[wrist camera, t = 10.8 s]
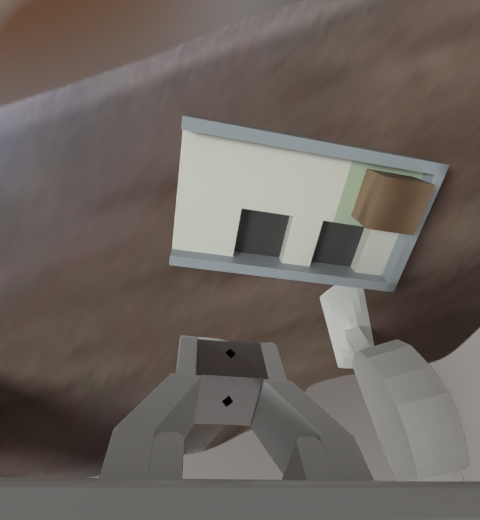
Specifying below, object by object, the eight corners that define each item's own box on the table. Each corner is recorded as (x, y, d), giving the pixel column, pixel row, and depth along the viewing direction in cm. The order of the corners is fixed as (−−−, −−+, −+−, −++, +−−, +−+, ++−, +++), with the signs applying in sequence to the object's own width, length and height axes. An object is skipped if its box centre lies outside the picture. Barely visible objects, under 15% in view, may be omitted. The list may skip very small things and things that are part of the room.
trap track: (429, 159, 30) (449, 165, 28) (380, 278, 36) (393, 292, 33) (185, 114, 27) (182, 115, 25) (172, 251, 33) (169, 264, 30)
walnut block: (412, 176, 30) (435, 185, 26) (394, 222, 31) (413, 235, 28) (366, 168, 29) (385, 176, 26) (351, 215, 31) (366, 228, 28)
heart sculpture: (378, 367, 42) (479, 531, 26) (340, 377, 42) (417, 546, 26) (359, 268, 35) (481, 408, 19) (315, 282, 36) (398, 431, 20)
